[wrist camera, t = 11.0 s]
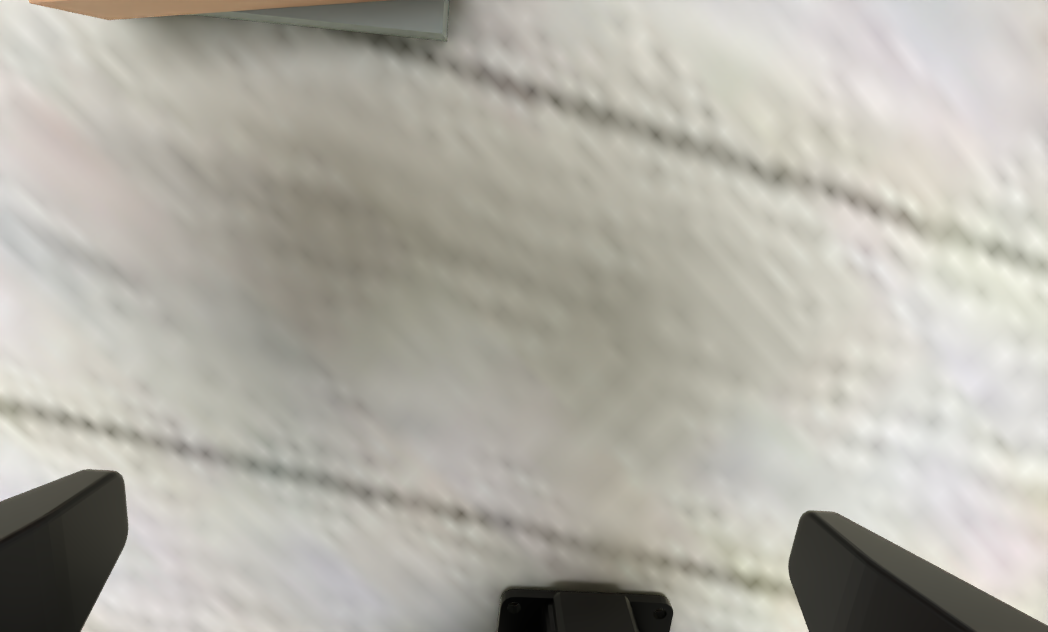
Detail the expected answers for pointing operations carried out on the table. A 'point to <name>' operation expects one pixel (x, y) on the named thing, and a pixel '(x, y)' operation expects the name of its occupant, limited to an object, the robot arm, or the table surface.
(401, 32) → the tower base slab
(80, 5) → the tower top slab
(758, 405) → the table surface
